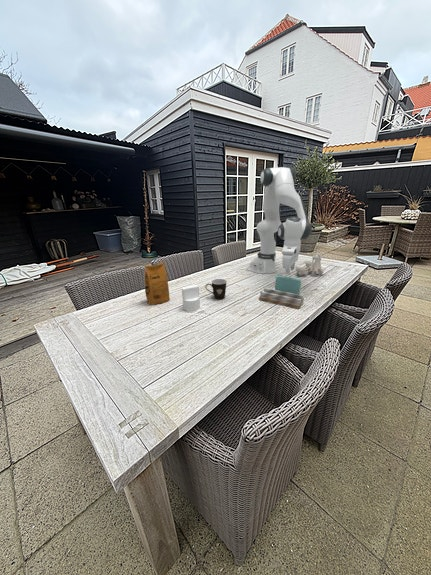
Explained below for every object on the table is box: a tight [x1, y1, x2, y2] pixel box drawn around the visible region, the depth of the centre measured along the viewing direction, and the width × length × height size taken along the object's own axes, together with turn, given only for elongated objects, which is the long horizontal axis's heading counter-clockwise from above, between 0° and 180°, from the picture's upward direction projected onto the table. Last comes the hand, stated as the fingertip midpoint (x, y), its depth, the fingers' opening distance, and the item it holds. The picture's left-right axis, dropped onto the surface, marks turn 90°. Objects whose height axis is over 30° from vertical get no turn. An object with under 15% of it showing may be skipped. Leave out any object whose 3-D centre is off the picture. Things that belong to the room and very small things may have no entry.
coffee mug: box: [204, 278, 228, 301], centre depth 132 cm, size 12×9×10 cm
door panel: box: [274, 275, 302, 295], centre depth 134 cm, size 14×3×10 cm, turn 58°
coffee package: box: [144, 262, 171, 306], centre depth 127 cm, size 10×12×22 cm
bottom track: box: [258, 287, 305, 310], centre depth 126 cm, size 22×10×4 cm, turn 58°
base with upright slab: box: [181, 284, 201, 312], centre depth 120 cm, size 9×9×12 cm
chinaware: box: [294, 252, 324, 277], centre depth 165 cm, size 28×17×17 cm, turn 144°
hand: (290, 271), depth 131 cm, fingers open, 8 cm apart
